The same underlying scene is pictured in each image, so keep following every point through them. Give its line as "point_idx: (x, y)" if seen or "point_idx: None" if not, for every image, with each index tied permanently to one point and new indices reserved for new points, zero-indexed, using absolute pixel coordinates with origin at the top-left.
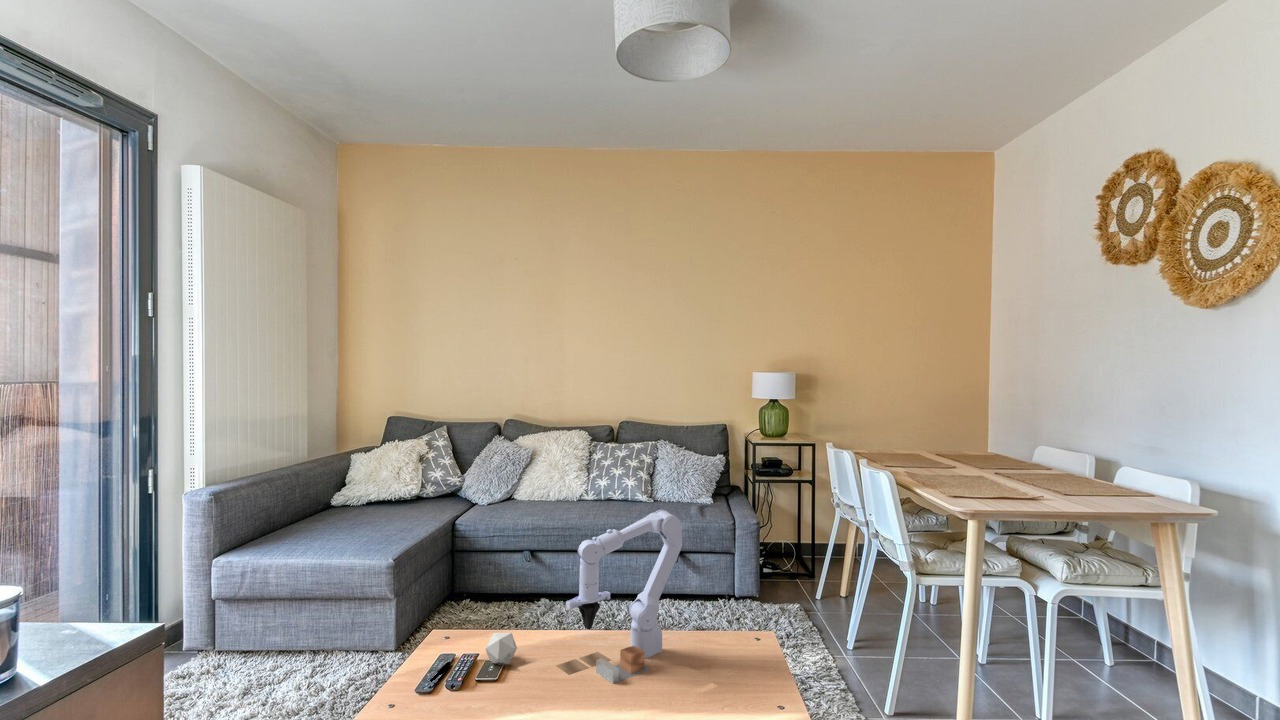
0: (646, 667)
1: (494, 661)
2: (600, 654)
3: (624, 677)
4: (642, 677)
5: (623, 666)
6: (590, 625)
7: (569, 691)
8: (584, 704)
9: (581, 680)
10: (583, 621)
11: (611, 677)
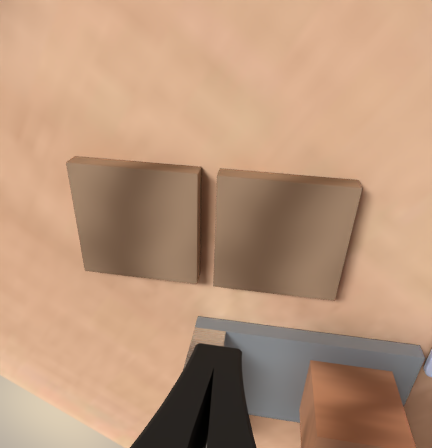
0: None
1: None
2: (345, 221)
3: (258, 409)
4: None
5: (307, 386)
6: (208, 428)
7: (55, 325)
8: (66, 394)
9: (130, 303)
10: (174, 386)
11: None
